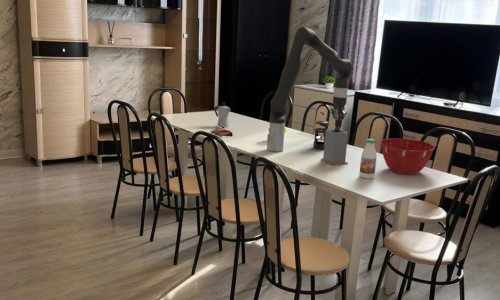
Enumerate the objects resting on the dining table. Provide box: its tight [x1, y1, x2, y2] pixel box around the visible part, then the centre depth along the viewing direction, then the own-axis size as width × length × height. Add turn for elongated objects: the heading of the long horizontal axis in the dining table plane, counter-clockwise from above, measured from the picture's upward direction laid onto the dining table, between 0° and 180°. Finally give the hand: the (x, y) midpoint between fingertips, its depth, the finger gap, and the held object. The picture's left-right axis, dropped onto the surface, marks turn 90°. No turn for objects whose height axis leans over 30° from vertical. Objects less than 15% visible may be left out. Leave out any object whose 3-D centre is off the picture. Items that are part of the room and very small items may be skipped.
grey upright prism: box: [320, 129, 349, 166], centre depth 290 cm, size 11×11×18 cm
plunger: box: [333, 127, 341, 133], centre depth 289 cm, size 7×7×14 cm
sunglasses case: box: [210, 126, 234, 137], centre depth 350 cm, size 18×7×7 cm, turn 36°
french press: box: [312, 111, 331, 151], centre depth 323 cm, size 12×9×23 cm
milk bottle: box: [358, 138, 378, 180], centre depth 263 cm, size 8×8×20 cm
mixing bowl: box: [380, 138, 436, 175], centre depth 279 cm, size 28×28×16 cm
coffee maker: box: [213, 102, 232, 128], centre depth 374 cm, size 15×9×18 cm, turn 58°
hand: (337, 126), depth 287 cm, fingers closed
